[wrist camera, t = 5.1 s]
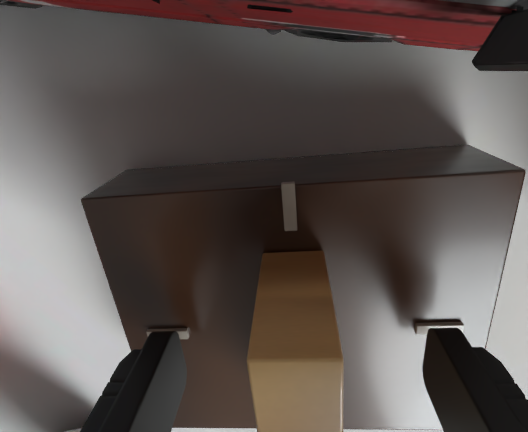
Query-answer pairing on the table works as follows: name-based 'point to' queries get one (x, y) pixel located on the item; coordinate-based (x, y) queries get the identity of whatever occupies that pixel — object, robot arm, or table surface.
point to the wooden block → (295, 347)
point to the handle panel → (311, 239)
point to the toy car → (354, 21)
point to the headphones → (75, 431)
